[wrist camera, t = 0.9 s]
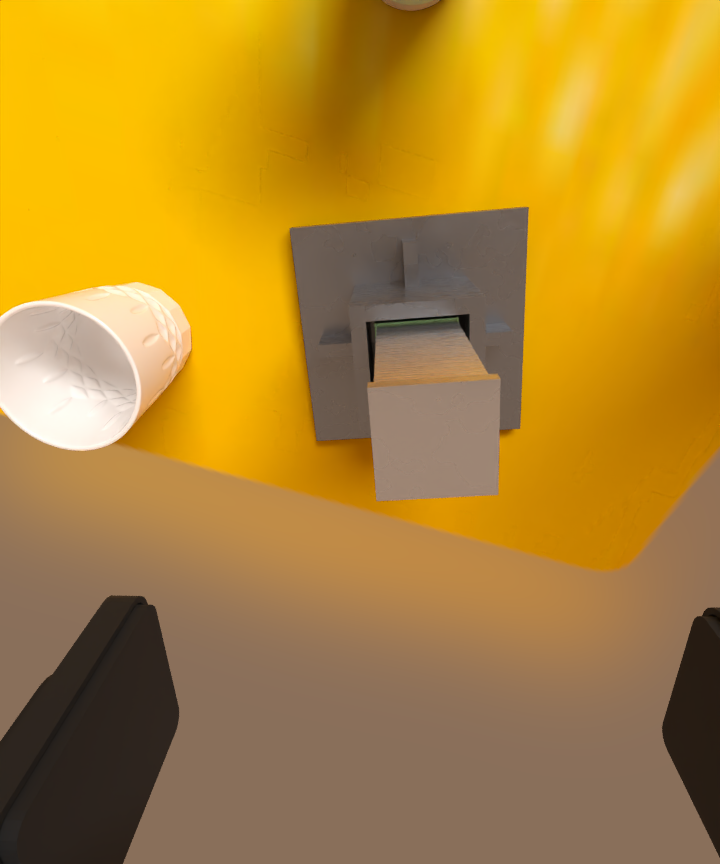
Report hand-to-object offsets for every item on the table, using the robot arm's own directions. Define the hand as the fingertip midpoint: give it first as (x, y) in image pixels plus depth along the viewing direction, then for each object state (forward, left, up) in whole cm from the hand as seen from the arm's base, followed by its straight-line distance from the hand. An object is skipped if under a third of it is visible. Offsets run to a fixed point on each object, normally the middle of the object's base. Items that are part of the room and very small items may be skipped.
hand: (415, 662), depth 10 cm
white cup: (+17, 0, -28) cm, 33 cm away
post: (-1, +1, -27) cm, 27 cm away
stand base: (-1, +1, -28) cm, 28 cm away
